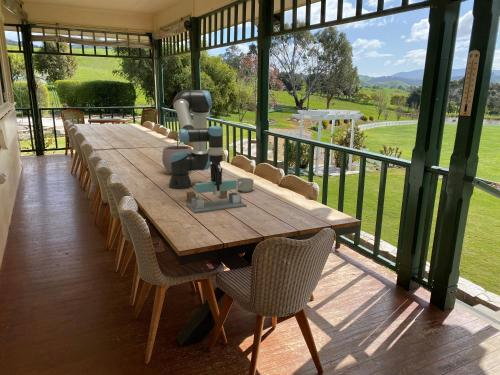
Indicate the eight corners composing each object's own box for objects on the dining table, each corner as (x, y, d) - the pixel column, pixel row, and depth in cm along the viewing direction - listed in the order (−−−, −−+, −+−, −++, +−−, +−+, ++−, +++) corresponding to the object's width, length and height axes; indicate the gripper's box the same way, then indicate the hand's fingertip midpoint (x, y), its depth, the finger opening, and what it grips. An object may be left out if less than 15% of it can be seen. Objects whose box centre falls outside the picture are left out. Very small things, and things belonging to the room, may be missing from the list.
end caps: (191, 205, 220) (190, 197, 218) (236, 200, 231) (236, 192, 230) (195, 209, 213) (194, 200, 212) (241, 203, 225) (241, 194, 224)
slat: (195, 192, 217) (195, 183, 215) (234, 187, 227) (234, 179, 225) (197, 193, 214) (196, 184, 213) (236, 188, 224) (236, 180, 223)
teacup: (244, 188, 263) (244, 176, 261) (256, 190, 256) (257, 179, 254) (230, 192, 253) (230, 180, 251) (243, 195, 246) (243, 182, 244)
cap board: (186, 206, 223) (186, 204, 222) (236, 199, 236) (236, 198, 236) (194, 213, 210) (194, 211, 209) (246, 206, 223) (246, 204, 223)
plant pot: (199, 174, 302) (198, 136, 295) (170, 178, 289) (168, 138, 282) (185, 169, 321) (184, 132, 314) (158, 172, 308) (156, 134, 301)
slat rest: (186, 200, 234) (186, 192, 233) (223, 195, 244) (223, 187, 243) (189, 202, 229) (189, 194, 228) (227, 198, 239) (227, 190, 238)
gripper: (204, 152, 221) (205, 192, 226) (214, 157, 207) (215, 199, 212) (216, 151, 224) (217, 191, 230) (227, 156, 210) (228, 197, 216)
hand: (216, 195), depth 221 cm, fingers closed on slat, 3 cm apart
